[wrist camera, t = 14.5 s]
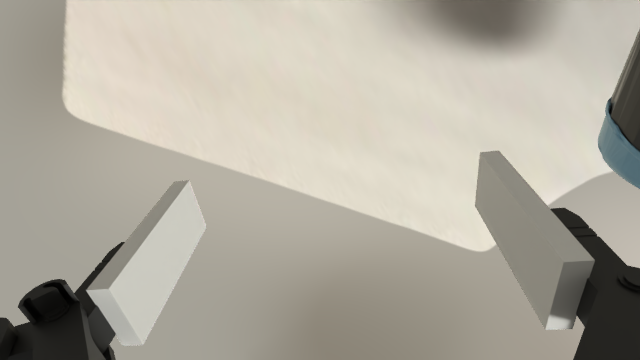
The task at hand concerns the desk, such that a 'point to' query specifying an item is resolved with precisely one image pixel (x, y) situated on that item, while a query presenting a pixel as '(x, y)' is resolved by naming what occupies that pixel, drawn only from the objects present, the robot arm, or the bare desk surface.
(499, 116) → the desk surface
